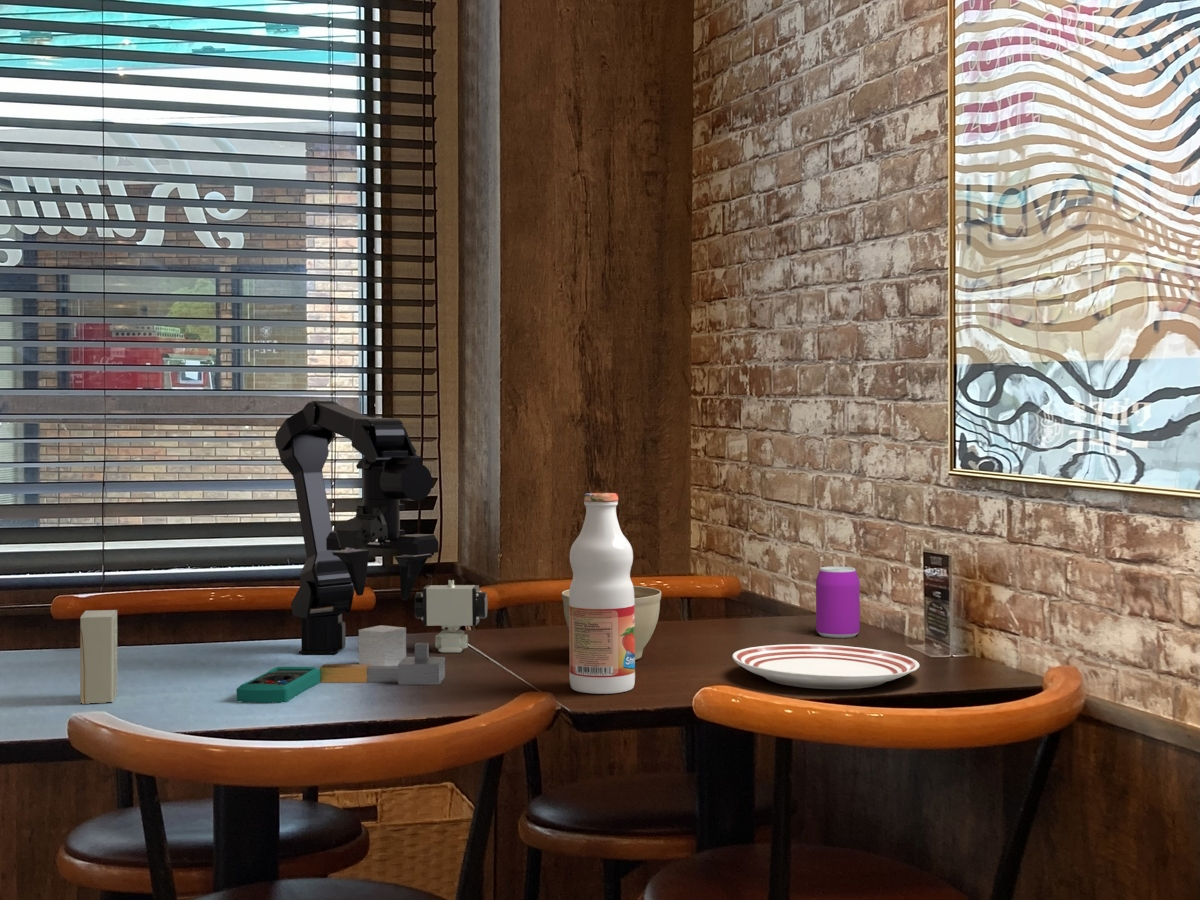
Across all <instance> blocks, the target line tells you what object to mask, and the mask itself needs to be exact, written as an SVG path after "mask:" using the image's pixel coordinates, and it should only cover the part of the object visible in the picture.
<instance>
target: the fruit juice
mask: <svg viewBox="0 0 1200 900" xmlns="http://www.w3.org/2000/svg"><path fill="white" fill-rule="evenodd" d="M583 503H584V504H583V505H584V506H585V509H586V510H585V517H584V522H583V524H582V528H581V530H580V533H579V534H578V536H577V537H576V539H575V540H574V542H573V543H572V545H571V547H570V550H569V562H570V567H571V570H572V580H571V582H570V585H569V589H570V591H569V628H568V631H569V632H568V635H569V638H568V639H569V641H568V642H569V643H568V644H569V647H568V649H569V684H570V685H569V686H570V688H571V690H573V691H575V692H578V693H584V694H592V695H593V694H595V695H608V694H609V695H610V694H619V693H624V692H629V691H631V690H633V689H634V687H635V681H636V660H635V615H634V607H635V599H634V587H633V586H634V584H633V581H632V579H631V570H632V566H633V561H634V551H633V547H632V545H631V542H629V540H628V538H627V537H626V536H625V535H624V534H623V532H622V530H621V527H620V524H619V520H618V516H617V506H618V504H619V495H618V493H615V492H590V493H585V494H584V496H583Z"/></svg>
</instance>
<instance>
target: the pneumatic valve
mask: <svg viewBox="0 0 1200 900" xmlns="http://www.w3.org/2000/svg"><path fill="white" fill-rule="evenodd" d="M447 582H448V584H445V585H444V584H443V585H442V584H440V585H437V584H435V585H430V584H427V585H426V586H424V587H423V588H422V592H418V591H417V592H416V593H415V598H414V617H415V619H421V621H422V625H423V626H424V627H428V626H429V627H431V626H432V627H435V626H436V627H437V626H438V627H440V626H441V631H440V632H439V633H438V634H436V635H435V639H434V641H435V642H434V643H435V648H436V649H437V650H438V652H439V653H442V654H454V653H455V654H461V653H462V652H463V650H464V649H467V648H468V647H469V636H468V634H466V633H465V631H464V630H463V629H460V628H461V627H463V626H465V627H466V626H469V627H470V626H471V627H472V626H477V625H478V624H479V623H480V619H487V617H488V606H489V604H488V594H487V593H488V592H486V591H482V590H480V585H479V584H471V585H470V584H465V585H464V584H455V580H454V579H452V580H451V579H448V581H447ZM446 628H447V629H446Z"/></svg>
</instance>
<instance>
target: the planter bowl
mask: <svg viewBox="0 0 1200 900" xmlns="http://www.w3.org/2000/svg"><path fill="white" fill-rule="evenodd" d="M633 587H634V599H635V607H634V615H635V661H636V660H639V659H641V658H642V656H643V651H644V649H645V647H646V646H647V644H648V643H649V642H650V640H651V637H652V635H653V634H654V631H655V629H656V628H657V627H656V626H657V624H658V620H659V616H660V615H659V614H660V610H661V609H660V608H661V607H660V606H661V599H662V591H661V590H660V589H658V588H654V587H648V586H637V585H633ZM569 591H570V588H569V589H566V590H563V591H562V592H561V600H562V602H563V612H564V618H565V621H566V626H567V628H568V629H569Z"/></svg>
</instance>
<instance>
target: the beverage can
mask: <svg viewBox="0 0 1200 900" xmlns="http://www.w3.org/2000/svg"><path fill="white" fill-rule="evenodd" d="M860 585H861V584H860V579H859V576H858V573H857V570H856V568H855V567H853V566H852V567H851V566H838V565H837V566H833V565H831V566H823V567H819V572H818V573H817V577H816V579H815V630H816V633H818V634H819V635H820V636H821V637H823V638H831V639H850V638H851V639H852V638H854V637H856V636H857V634H859V632H860V629H861V628H860V626H861V625H860V623H861V622H860V621H861V620H860V619H861V618H860V617H861V616H860V615H861V613H860V610H861V609H860V607H861V606H860V601H861V599H860V598H861V597H860V594H861V593H860V589H861V588H860Z"/></svg>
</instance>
